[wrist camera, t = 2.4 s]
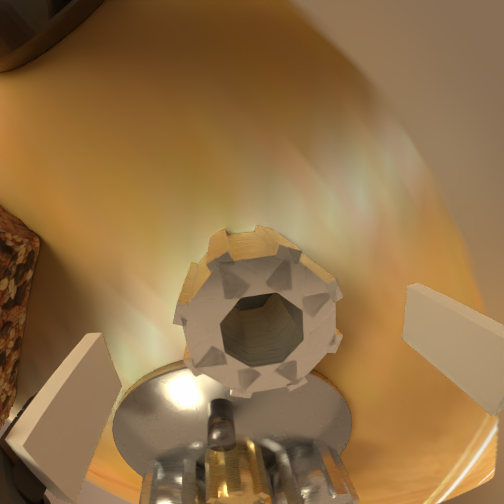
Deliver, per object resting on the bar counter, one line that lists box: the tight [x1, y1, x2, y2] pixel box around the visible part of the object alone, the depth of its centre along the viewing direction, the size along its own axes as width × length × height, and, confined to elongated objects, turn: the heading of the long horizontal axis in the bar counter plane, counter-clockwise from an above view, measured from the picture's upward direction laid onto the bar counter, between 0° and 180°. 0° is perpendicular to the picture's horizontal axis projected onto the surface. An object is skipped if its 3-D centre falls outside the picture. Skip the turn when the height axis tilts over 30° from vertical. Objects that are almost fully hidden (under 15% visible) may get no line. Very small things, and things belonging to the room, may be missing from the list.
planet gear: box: [173, 225, 344, 398], centre depth 14 cm, size 7×7×6 cm
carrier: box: [112, 360, 359, 504], centre depth 16 cm, size 20×20×8 cm
